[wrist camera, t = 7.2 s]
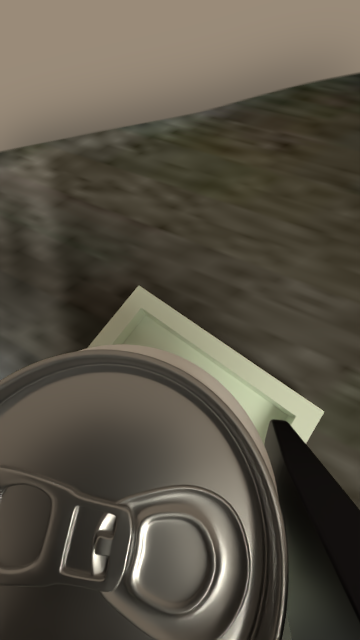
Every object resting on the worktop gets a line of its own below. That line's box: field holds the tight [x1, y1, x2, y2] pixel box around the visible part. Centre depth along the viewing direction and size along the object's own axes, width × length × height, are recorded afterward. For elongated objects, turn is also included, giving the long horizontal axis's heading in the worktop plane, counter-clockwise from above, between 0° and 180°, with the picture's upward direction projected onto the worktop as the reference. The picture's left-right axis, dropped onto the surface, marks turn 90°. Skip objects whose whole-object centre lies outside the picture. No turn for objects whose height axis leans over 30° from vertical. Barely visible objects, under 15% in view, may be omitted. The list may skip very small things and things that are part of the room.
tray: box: [88, 286, 324, 444], centre depth 15 cm, size 12×12×2 cm
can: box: [0, 344, 289, 640], centre depth 10 cm, size 6×6×12 cm
